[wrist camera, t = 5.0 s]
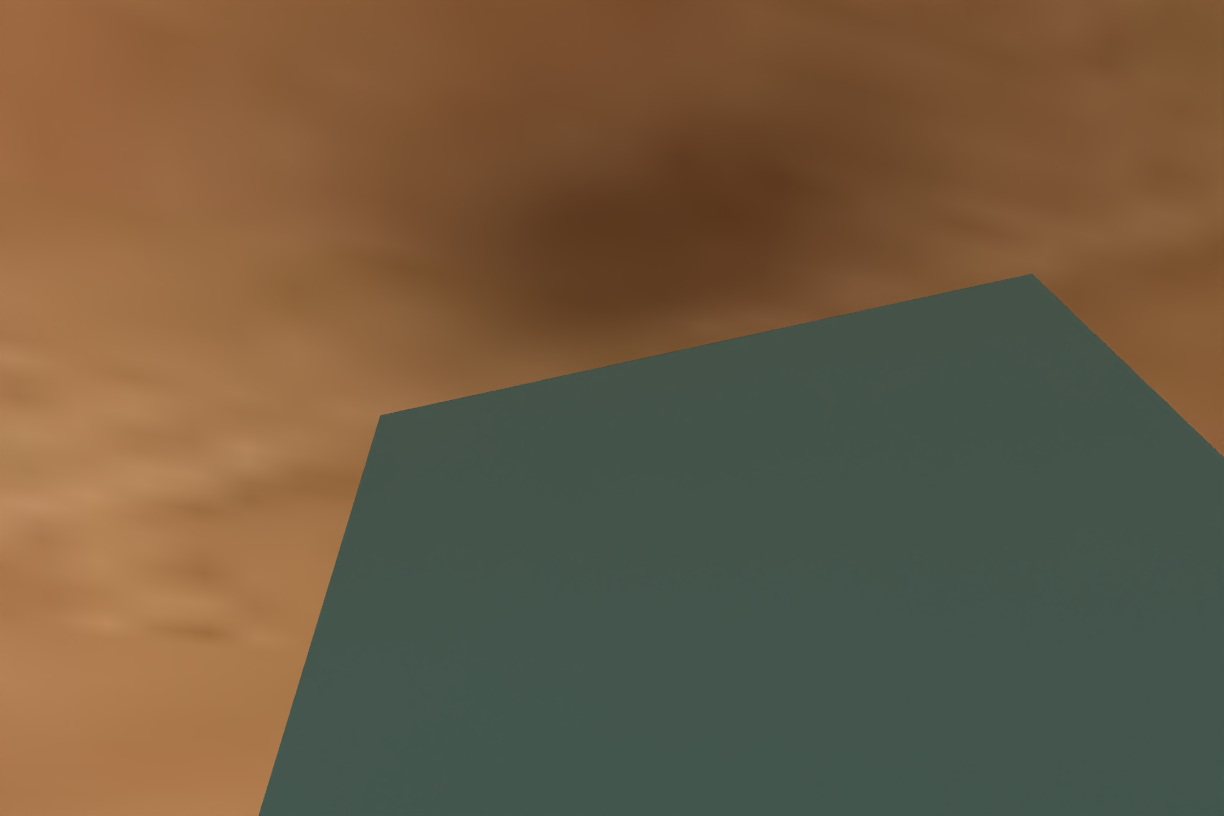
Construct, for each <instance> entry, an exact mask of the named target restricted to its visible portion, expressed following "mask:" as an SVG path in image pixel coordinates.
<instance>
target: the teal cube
mask: <svg viewBox="0 0 1224 816" xmlns="http://www.w3.org/2000/svg"><path fill="white" fill-rule="evenodd" d="M259 816H1224V457H1223V456H1222V455H1220V454H1219V453H1218V452H1217V451H1216V450H1215V449H1214V448H1213V447H1212V446H1211V445H1210V444H1209V443H1208V442H1207V441H1206V440H1205V439H1204V438H1203V437H1202V436H1201V435H1200V434H1199V433H1198V432H1196V431H1195V430H1194V429H1193V428H1192V427H1191V426H1190V425H1189V424H1188V423H1187V422H1186V421H1185V420H1184V419H1183V418H1182V417H1181V416H1180V415H1179V414H1178V413H1177V412H1176V411H1175V410H1173V409H1172V408H1171V407H1170V406H1169V405H1168V404H1167V403H1166V402H1165V401H1164V400H1163V399H1162V398H1161V397H1160V396H1159V395H1158V394H1157V393H1156V392H1155V391H1154V390H1153V389H1152V388H1151V387H1149V386H1148V385H1147V384H1146V383H1145V382H1144V381H1143V380H1142V379H1141V378H1140V377H1139V376H1138V375H1137V374H1136V373H1135V372H1134V371H1133V370H1132V369H1131V368H1130V367H1129V366H1128V365H1127V364H1125V363H1124V362H1123V361H1122V360H1121V359H1120V358H1119V357H1118V356H1117V355H1116V354H1115V353H1114V352H1113V351H1112V350H1111V349H1110V348H1109V347H1108V346H1107V345H1106V344H1105V343H1104V342H1102V341H1101V340H1100V339H1099V338H1098V337H1097V336H1096V335H1095V334H1094V333H1093V332H1092V331H1091V330H1090V329H1089V328H1088V327H1087V326H1086V325H1085V324H1084V323H1083V322H1082V321H1081V320H1080V319H1078V318H1077V317H1076V316H1075V315H1074V314H1073V313H1072V312H1071V311H1070V310H1069V309H1068V308H1067V307H1066V306H1065V305H1064V304H1063V303H1062V302H1061V301H1060V300H1059V299H1058V298H1057V297H1056V296H1054V295H1053V294H1052V293H1051V292H1050V291H1049V290H1048V289H1047V288H1046V287H1045V286H1044V285H1043V284H1042V283H1041V282H1040V281H1039V280H1038V279H1037V278H1036V277H1035V276H1034V275H1033V274H1029V275H1025V276H1020V277H1016V278H1011V279H1006V280H1002V281H997V282H993V283H988V284H983V285H979V286H974V287H970V288H965V289H960V290H956V291H951V292H947V293H942V294H937V295H933V296H928V297H924V298H919V299H914V300H910V301H905V302H901V303H896V304H891V305H887V306H882V307H878V308H873V309H868V310H864V311H859V312H855V313H850V314H845V315H841V316H836V317H832V318H827V319H822V320H818V321H813V322H809V323H804V324H799V325H795V326H790V327H786V328H781V329H776V330H772V331H767V332H763V333H758V334H753V335H749V336H744V337H740V338H735V339H730V340H726V341H721V342H717V343H712V344H707V345H703V346H698V347H694V348H689V349H684V350H680V351H675V352H671V353H666V354H661V355H657V356H652V357H648V358H643V359H638V360H634V361H629V362H625V363H620V364H615V365H611V366H606V367H602V368H597V369H592V370H588V371H583V372H579V373H574V374H569V375H565V376H560V377H555V378H551V379H546V380H542V381H537V382H532V383H528V384H523V385H519V386H514V387H509V388H505V389H500V390H496V391H491V392H486V393H482V394H477V395H473V396H468V397H463V398H459V399H454V400H450V401H445V402H440V403H436V404H431V405H427V406H422V407H417V408H413V409H408V410H404V411H399V412H394V413H390V414H385V415H381V416H380V419H379V422H378V425H377V428H376V432H375V435H374V438H373V442H372V445H371V448H370V451H369V455H368V458H367V461H366V465H365V468H364V471H363V474H362V478H361V481H360V484H359V488H358V491H357V494H356V497H355V501H354V504H353V507H352V511H351V514H350V517H349V520H348V524H347V527H346V530H345V534H344V537H343V540H342V543H341V547H340V550H339V553H338V557H337V560H336V563H335V566H334V570H333V573H332V576H331V580H330V583H329V586H328V589H327V593H326V596H325V599H324V603H323V606H322V609H321V612H320V616H319V619H318V622H317V626H316V629H315V632H314V635H313V639H312V642H311V645H310V649H309V652H308V655H307V658H306V662H305V665H304V668H303V672H302V675H301V678H300V681H299V685H298V688H297V691H296V695H295V698H294V701H293V704H292V708H291V711H290V714H289V718H288V721H287V724H286V727H285V731H284V734H283V737H282V741H281V744H280V747H279V750H278V754H277V757H276V760H275V764H274V767H273V770H272V773H271V777H270V780H269V783H268V787H267V790H266V793H265V797H264V800H263V803H262V806H261V810H260V813H259Z"/></svg>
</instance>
